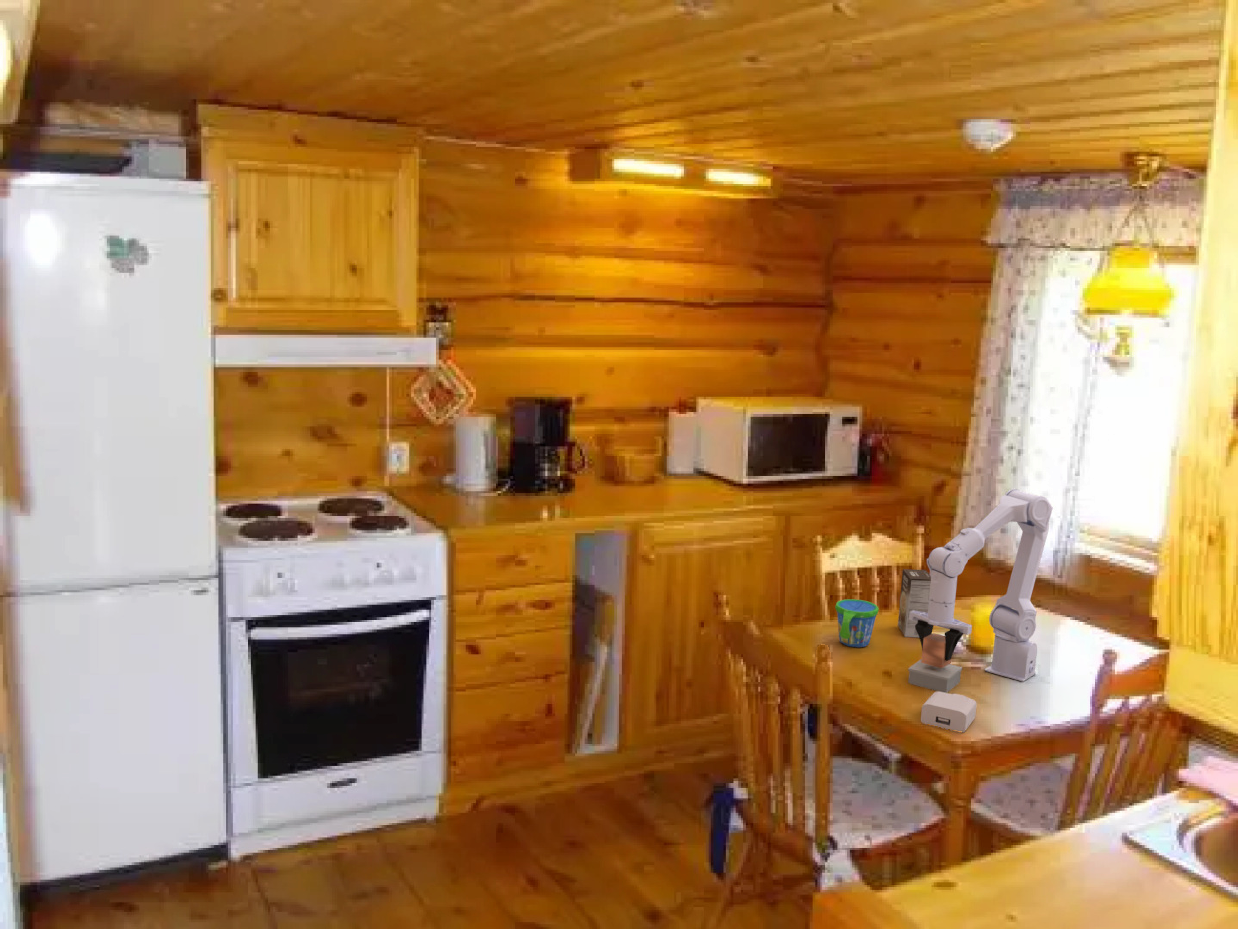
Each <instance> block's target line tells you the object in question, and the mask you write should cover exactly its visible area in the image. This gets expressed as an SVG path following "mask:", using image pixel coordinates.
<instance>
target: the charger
mask: <svg viewBox="0 0 1238 929" xmlns="http://www.w3.org/2000/svg"><path fill="white" fill-rule="evenodd" d="M977 705H978V704H977V701H976V700H975V699H972V698H970V697H967V695H963V694H958V693H948V692H947V693H944V692H939V691H935V692H933V694H931V696H929V697H928V699H927V700H926V701H925V702H924V703H923V704H922V706H921V712H920V713H921V715H920V722H921V723H922V724H925V725H927V724H930V725H929V726H931V725H934V726H933V727H935V726H938V727H937V728H939V727H941V729H944V728H945V729H944V730H948V729H951V730H950V731H952V730H957V731H962V732H963V733H965V732H966V731H967V729H968V728H969V727H970V725H971V724H972V723H973V721H974V719H975V718H976V714H977V712H976V711H977Z"/></svg>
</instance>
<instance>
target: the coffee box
mask: <svg viewBox="0 0 1238 929" xmlns="http://www.w3.org/2000/svg"><path fill="white" fill-rule="evenodd" d="M901 574H902V576H901V587H900V598H899V606H898V607H899V608H898V619H897V627H898V628H899V631H901V633H902V634H903V636H904V637H905V638H919V635H918V633H917V631H916V629H915V625H916V624H917V623H918V621H916V620H913V621H912V620H909V613H910V612H911V611H913V610H915V611H920V612H926V613H928V606H929V595H930V584H931V576H930V572H928V571H927V570H926V569H911V568H910V569H909V568H908V569H905V568H902V573H901Z"/></svg>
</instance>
